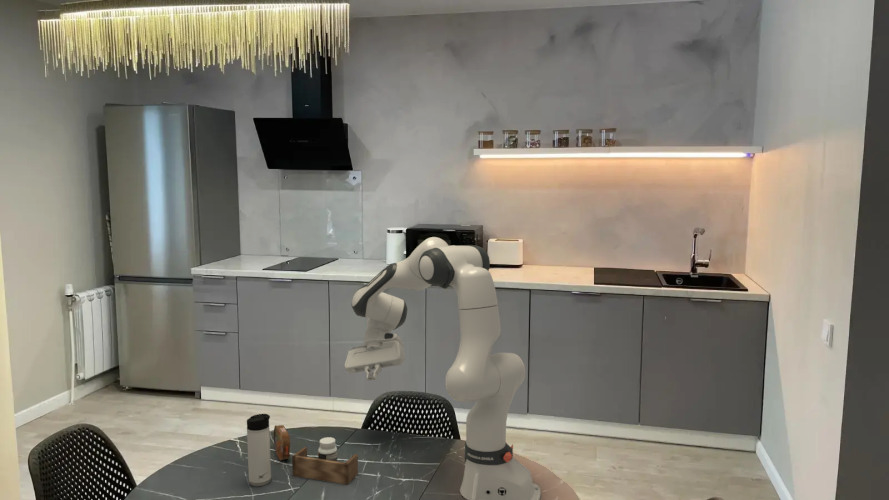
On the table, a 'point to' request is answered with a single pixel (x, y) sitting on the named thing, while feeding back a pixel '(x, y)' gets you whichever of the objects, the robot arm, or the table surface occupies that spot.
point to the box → (324, 468)
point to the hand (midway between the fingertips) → (371, 379)
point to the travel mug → (259, 450)
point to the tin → (281, 442)
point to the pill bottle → (327, 449)
